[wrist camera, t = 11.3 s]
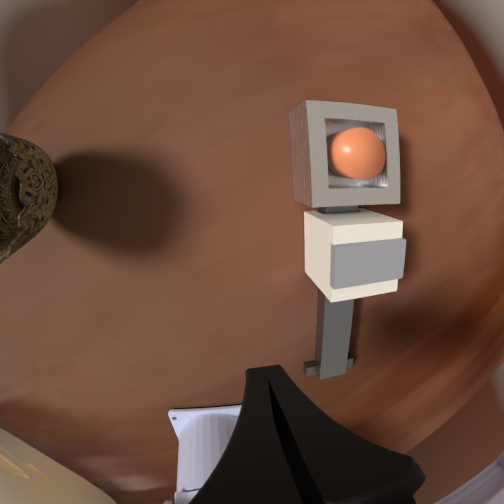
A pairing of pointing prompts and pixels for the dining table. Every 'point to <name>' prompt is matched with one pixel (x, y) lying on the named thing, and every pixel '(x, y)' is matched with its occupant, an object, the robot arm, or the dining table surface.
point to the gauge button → (356, 154)
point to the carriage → (353, 253)
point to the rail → (332, 327)
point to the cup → (24, 192)
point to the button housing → (315, 154)
